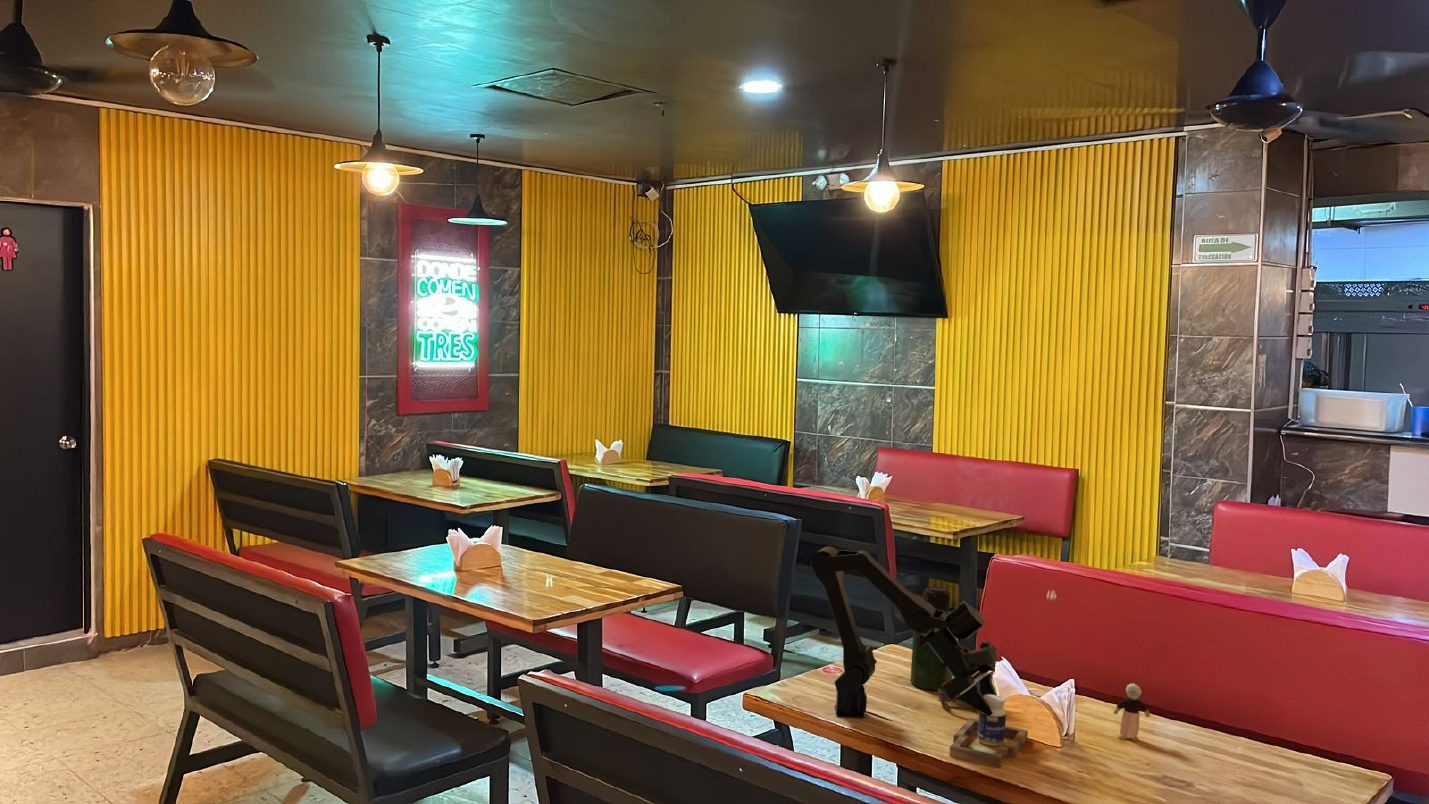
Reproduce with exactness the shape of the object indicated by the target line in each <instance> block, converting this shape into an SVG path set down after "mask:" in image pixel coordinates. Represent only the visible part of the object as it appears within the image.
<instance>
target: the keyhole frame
mask: <svg viewBox="0 0 1429 804" xmlns="http://www.w3.org/2000/svg"><path fill="white" fill-rule="evenodd" d="M978 723H979V718H978V719H977V718H972V717H970V718H968V720H966V721H965V723H964V724H963V725H962V726H961V727H960V728H959V729H958V730H957V731H956V732H955V733H954V734H953V741H952V744H951V745H950V747H949V757H951V756H952V757H953V758H956V759H961V760H963V761H967V762H968V761H969V762H972V763H975V764H976V763H977V764H981V765H985V766H989V767H994V768H998V769H999V768H1000V767H1001V766H1002V765H1003V763H1004V762H1005V761H1006V759H1007V758H1009V759H1010V758H1011V759H1014V758H1015V756H1016V755H1017V754H1018V752H1019V751H1020V750H1021V748H1022V747H1023V746H1024V744H1025V743H1026V742H1027V740H1028V730H1027V729H1023V728H1018V727H1015V726H1014V727H1013V726H1008V725H1005V734H1004V738H1005V737H1006V738H1009V739H1012V740H1011V741H1010V742H1009V744H1004V743H1003V744H1002V745H999V748H998V749H997V750H996V751H994V750H992V749H990V748H986V747H983V746H968V744H969V743H968V742H969V736H971V734H972V733H973V732H974V731H977V732H978ZM1003 761H1004V762H1003ZM1001 764H1002V765H1001Z"/></svg>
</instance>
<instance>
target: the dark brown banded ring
mask: <svg viewBox="0 0 1429 804" xmlns="http://www.w3.org/2000/svg"><path fill="white" fill-rule="evenodd" d="M953 679H954V677H952V679H950V680H948V681H947V682H945V683H944V684H942V685H941V686H942V688H943V689H942V688H939V689H938V690H937V692H938V694H939V696H938V702H940V703H941V704H942V703H943V704H944V703H949V702H951V703H954V704H957V699H956V698H957V696H956V697H955V698H953V699H952V700H951V701H950V700H949V699H948V697H947V696H946V695H945V688H946V687H947V686H948V685H950V684H951V683H952V680H953ZM959 696H960V694H959V695H958V697H959ZM975 709H976V708H975ZM975 712H976V714H979V710H977V709H976V710H975Z"/></svg>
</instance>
